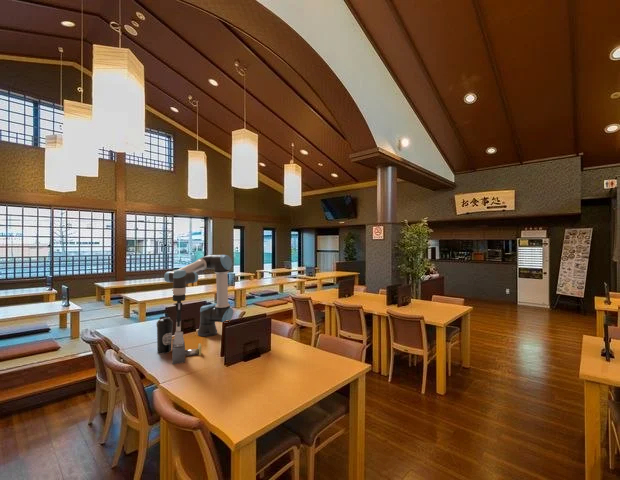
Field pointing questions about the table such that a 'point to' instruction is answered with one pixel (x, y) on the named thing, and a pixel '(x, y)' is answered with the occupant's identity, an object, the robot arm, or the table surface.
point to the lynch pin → (194, 351)
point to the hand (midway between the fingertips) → (178, 331)
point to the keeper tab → (178, 338)
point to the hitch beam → (178, 353)
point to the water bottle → (164, 335)
